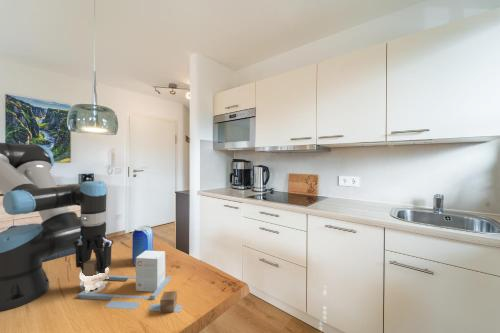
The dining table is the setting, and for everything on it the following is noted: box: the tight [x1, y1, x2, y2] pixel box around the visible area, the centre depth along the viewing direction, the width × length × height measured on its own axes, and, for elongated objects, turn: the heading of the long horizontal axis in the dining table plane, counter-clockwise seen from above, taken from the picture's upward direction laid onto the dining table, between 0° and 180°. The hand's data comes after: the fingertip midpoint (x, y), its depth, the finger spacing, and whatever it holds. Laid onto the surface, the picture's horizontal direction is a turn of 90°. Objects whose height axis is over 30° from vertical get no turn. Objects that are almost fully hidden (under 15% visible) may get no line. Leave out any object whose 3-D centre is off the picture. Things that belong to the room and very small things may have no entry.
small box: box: [135, 250, 166, 293], centre depth 76 cm, size 8×6×13 cm
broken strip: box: [104, 300, 184, 313], centre depth 66 cm, size 24×3×1 cm, turn 87°
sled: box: [76, 257, 172, 301], centre depth 76 cm, size 29×12×10 cm, turn 87°
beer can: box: [131, 225, 154, 266], centre depth 96 cm, size 8×8×16 cm
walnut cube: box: [159, 290, 178, 314], centre depth 65 cm, size 4×4×4 cm
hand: (93, 285), depth 77 cm, fingers closed on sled, 4 cm apart
